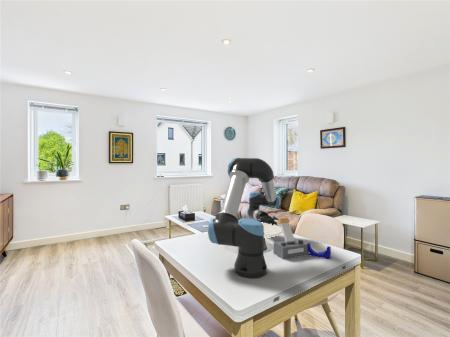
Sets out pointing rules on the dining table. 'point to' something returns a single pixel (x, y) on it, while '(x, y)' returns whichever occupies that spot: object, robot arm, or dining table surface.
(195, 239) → the dining table surface
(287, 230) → the breaker lever
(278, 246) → the block
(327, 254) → the cable clip
